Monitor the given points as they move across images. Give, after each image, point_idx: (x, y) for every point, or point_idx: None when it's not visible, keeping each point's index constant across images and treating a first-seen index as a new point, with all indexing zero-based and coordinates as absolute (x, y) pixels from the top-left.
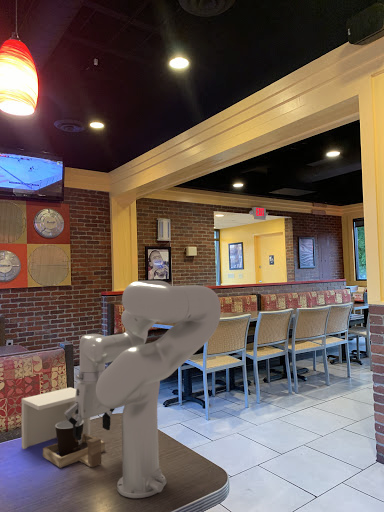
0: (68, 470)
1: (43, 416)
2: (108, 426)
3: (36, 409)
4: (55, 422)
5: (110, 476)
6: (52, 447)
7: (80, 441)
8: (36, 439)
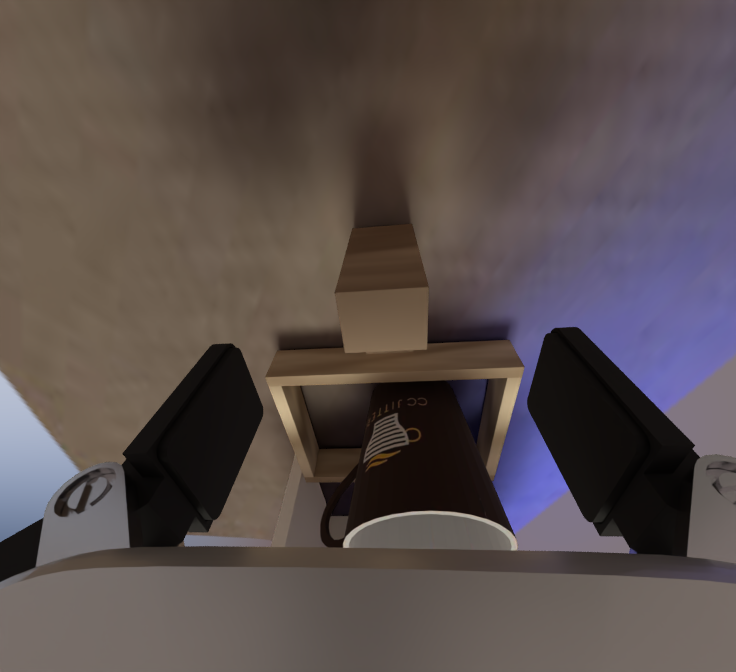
0: (495, 299)
1: None
2: (213, 364)
3: None
4: None
5: (380, 4)
6: None
7: (385, 425)
8: None
